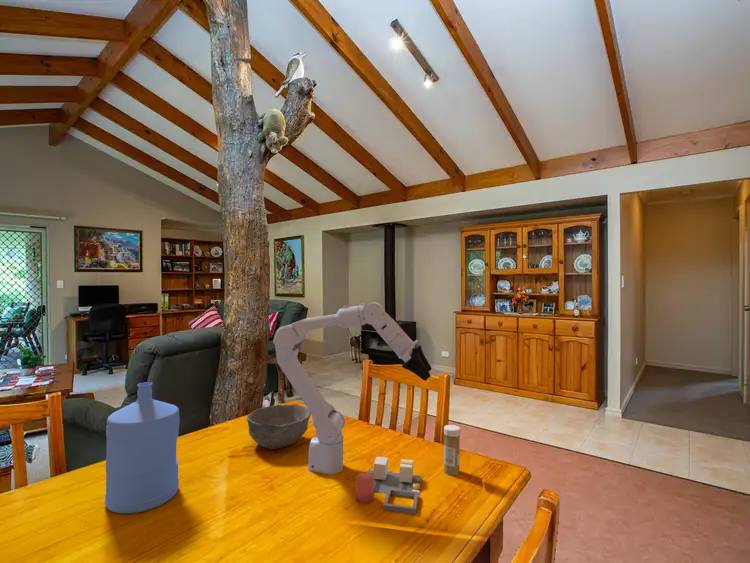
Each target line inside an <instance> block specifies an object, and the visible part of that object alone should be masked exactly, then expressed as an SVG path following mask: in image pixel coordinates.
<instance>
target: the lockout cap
mask: <svg viewBox="0 0 750 563" xmlns="http://www.w3.org/2000/svg"><path fill="white" fill-rule="evenodd" d="M374 496H375V492H374V476H373V475H371V474H368V472H366V473H359V474H358V475H356V478H355V501H356V502H357V503H358V504H361V505H368V504H371V503H373V502H374V498H375V497H374Z"/></svg>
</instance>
